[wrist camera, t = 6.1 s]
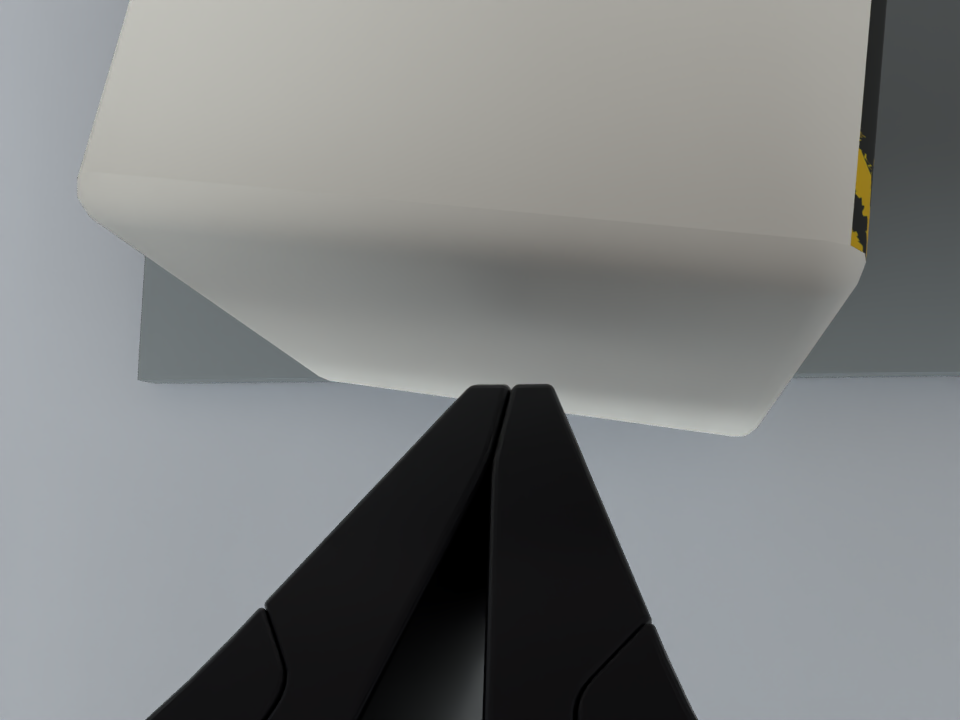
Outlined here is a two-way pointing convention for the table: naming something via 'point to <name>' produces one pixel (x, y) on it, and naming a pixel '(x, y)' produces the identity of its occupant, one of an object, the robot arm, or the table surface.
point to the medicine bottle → (506, 187)
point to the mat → (853, 331)
